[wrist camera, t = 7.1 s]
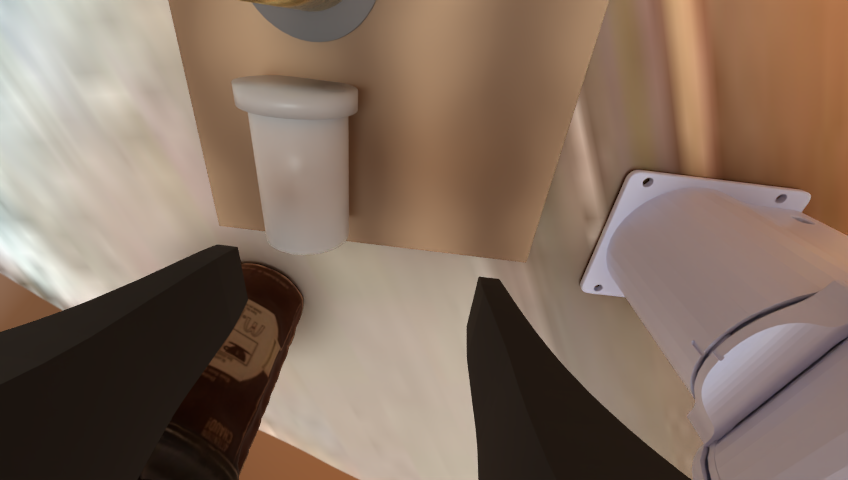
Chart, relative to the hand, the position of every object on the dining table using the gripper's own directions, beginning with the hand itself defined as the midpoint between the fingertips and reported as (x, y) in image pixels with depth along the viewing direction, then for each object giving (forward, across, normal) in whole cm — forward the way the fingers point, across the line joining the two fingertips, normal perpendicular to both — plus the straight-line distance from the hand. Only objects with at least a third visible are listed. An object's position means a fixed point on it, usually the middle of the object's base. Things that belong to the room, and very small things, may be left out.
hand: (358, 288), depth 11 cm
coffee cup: (+10, +9, +10) cm, 17 cm away
